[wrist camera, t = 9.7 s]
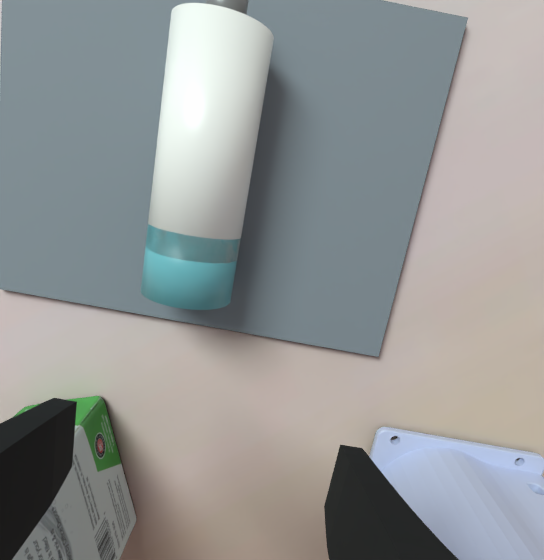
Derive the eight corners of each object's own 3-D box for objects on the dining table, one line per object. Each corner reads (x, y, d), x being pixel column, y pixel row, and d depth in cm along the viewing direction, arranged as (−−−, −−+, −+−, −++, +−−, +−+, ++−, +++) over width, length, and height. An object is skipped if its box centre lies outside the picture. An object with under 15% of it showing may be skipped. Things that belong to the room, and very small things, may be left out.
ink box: (21, 403, 22) (-262, 640, 10) (107, 393, 22) (-86, 623, 10) (60, 531, 24) (-142, 850, 12) (139, 523, 24) (8, 841, 12)
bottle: (278, 22, 17) (281, -26, 13) (234, 290, 20) (225, 316, 16) (187, 3, 17) (163, -51, 13) (155, 277, 20) (127, 299, 16)
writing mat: (463, 21, 17) (468, 17, 17) (376, 353, 21) (378, 356, 21) (10, -70, 17) (4, -76, 17) (0, 286, 20) (-5, 288, 20)
